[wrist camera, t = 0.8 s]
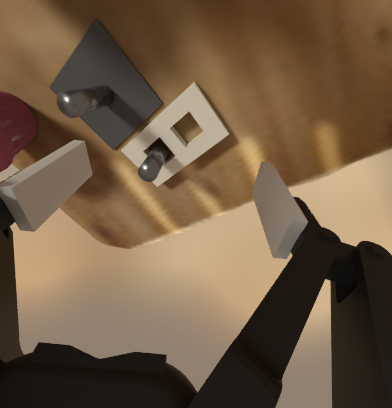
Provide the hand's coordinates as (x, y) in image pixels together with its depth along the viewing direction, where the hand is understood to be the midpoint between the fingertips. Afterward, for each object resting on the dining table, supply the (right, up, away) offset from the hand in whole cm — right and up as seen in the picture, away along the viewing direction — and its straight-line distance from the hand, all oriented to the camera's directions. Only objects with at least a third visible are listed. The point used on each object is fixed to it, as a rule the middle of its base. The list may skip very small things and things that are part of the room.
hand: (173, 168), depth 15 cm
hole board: (-2, +10, +23) cm, 25 cm away
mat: (-14, +16, +20) cm, 29 cm away
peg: (-14, +16, +19) cm, 29 cm away
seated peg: (-5, +8, +25) cm, 26 cm away
